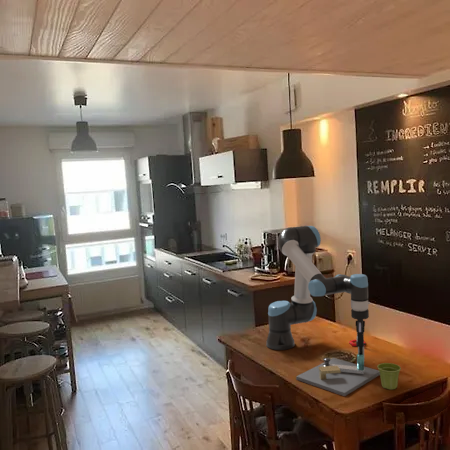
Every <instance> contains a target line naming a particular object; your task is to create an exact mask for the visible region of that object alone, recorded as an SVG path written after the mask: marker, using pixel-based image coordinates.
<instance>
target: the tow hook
mask: <svg viewBox="0 0 450 450" xmlns="http://www.w3.org/2000/svg"><path fill="white" fill-rule="evenodd" d="M348 342H349V345H351V347H356V345H358V338H357V337H356V339H351V340H349V341H348ZM364 343H365V345H364V347H365V346H366V341H365V340H364Z"/></svg>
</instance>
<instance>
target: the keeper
mask: <svg viewBox="0 0 450 450" xmlns="http://www.w3.org/2000/svg"><path fill="white" fill-rule="evenodd" d="M318 369H319V377H320V379H321V380H323V379H326V374H329V373H341V370H340V369H339V367H338V366H325V367H318Z"/></svg>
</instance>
